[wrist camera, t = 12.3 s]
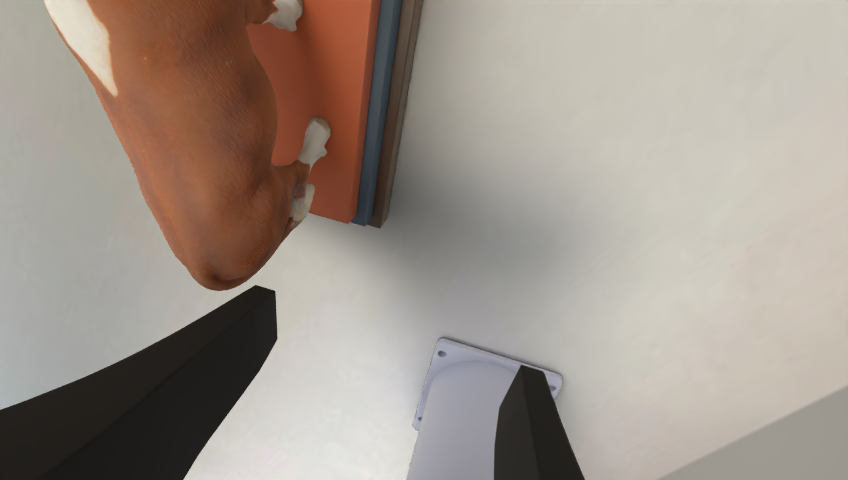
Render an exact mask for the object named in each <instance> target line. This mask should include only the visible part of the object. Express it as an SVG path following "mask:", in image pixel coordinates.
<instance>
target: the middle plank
mask: <svg viewBox="0 0 848 480" xmlns="http://www.w3.org/2000/svg"><path fill="white" fill-rule="evenodd" d="M401 3H402V0H381V3H380V11H379V20H378V29H377V38H376V46H375V55H374V64H373V72H372V81H371V90H370V99H369V107H368V116H367V125H366V133H365V142H364V151H363V160H362V168H361V177H360V186H359V194H358V203H357V212H356V216H355V217H354V218H353V219H352V220H351V222H352V223H355V224H358V225H362V226H366V224H367V223H368V222H369V220H370V219H371V218H372V211H373V204H374V197H375V190H376V183H377V176H378V168H379V161H380V154H381V147H382V140H383V133H384V125H385V118H386V111H387V104H388V97H389V89H390V82H391V75H392V68H393V61H394V54H395V46H396V39H397V32H398V25H399V18H400V11H401Z"/></svg>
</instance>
